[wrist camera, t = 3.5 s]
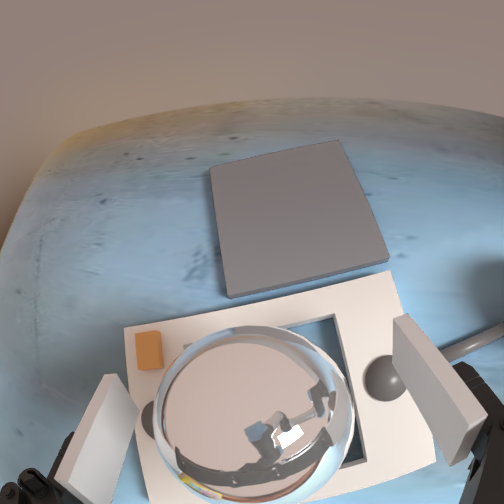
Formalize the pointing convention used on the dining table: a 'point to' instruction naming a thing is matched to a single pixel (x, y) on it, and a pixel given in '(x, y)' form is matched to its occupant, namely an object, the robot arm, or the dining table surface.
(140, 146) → the dining table surface
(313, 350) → the light bulb
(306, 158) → the felt pad
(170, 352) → the white square frame
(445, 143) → the dining table surface
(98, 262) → the dining table surface
